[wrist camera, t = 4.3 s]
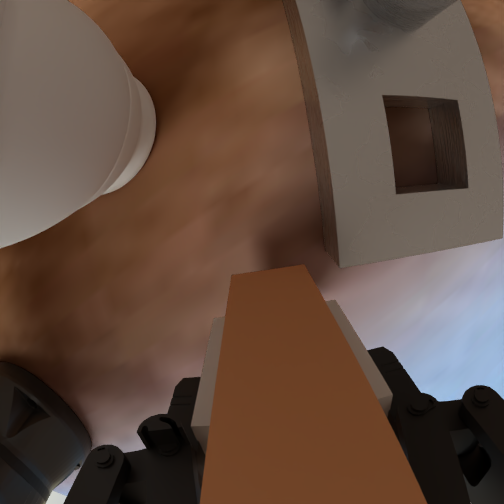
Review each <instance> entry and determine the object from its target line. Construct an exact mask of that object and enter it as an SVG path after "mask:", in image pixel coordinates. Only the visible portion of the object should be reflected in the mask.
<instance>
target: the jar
mask: <svg viewBox="0 0 504 504" xmlns="http://www.w3.org/2000/svg"><path fill="white" fill-rule="evenodd" d="M155 131H156V114H155V109H154V105H153V101H152V99H151V97H150V94H149V93H148V91H147V89H146V88H145V87H144V85H143V84H142V83H141V82H140V81H139V80H138V79H136V78H135V77H133V75H132V73H131V71H130V69H129V68H128V66H127V64H126V63H125V62H124V60H123V59H122V58H121V56H120V55H119V54H118V53H117V51H116V49H115V48H114V46H113V44H112V43H111V41H110V40H109V39H108V37H107V36H106V34H105V33H104V32H103V31H102V30H101V28H100V27H99V26H98V25H97V24H96V23H95V22H94V21H93V20H92V19H91V18H90V17H89V16H88V15H87V14H85V13H84V12H83V11H82V10H81V9H79V8H78V7H77V6H75V5H74V4H72V3H71V2H69V1H68V0H0V248H2V247H6V246H9V245H12V244H15V243H17V242H20V241H23V240H25V239H28V238H30V237H32V236H34V235H36V234H39V233H41V232H43V231H44V230H46V229H48V228H50V227H52V226H54V225H55V224H57V223H59V222H60V221H62V220H63V219H65V218H66V217H68V216H69V215H71V214H72V213H74V212H75V211H76V210H78V209H80V208H82V207H84V206H85V205H87V204H89V203H90V202H92V201H93V200H95V199H96V198H98V197H99V196H100V195H102V194H107V193H110V192H113V191H115V190H117V189H119V188H121V187H122V186H124V185H125V184H126V183H128V182H129V181H130V180H131V179H132V178H133V177H134V176H135V175H136V174H137V173H138V172H139V170H140V169H141V168H142V166H143V165H144V163H145V161H146V160H147V158H148V156H149V153H150V151H151V148H152V145H153V142H154V137H155Z"/></svg>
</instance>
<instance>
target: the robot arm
mask: <svg viewBox="0 0 504 504" xmlns="http://www.w3.org/2000/svg"><path fill="white" fill-rule="evenodd" d="M325 302H326V304H327V305H328V307H329V309H330V311H331V313H332V314H333V316H334V318H335V320H336V322H337V323H338V325H339V327H340V329H341V331H342V333H343V334H344V336H345V338H346V340H347V342H348V344H349V346H350V347H351V349H352V351H353V353H354V355H355V357H356V359H357V361H358V362H359V364H360V366H361V368H362V370H363V372H364V374H365V376H366V378H367V380H368V382H369V383H370V385H371V387H372V389H373V391H374V393H375V395H376V397H377V399H378V401H379V403H380V405H381V407H382V409H383V411H384V413H385V415H386V417H387V419H388V421H389V423H390V425H391V427H392V429H393V431H394V433H395V435H396V437H397V439H398V441H399V443H400V446H401V448H402V450H403V452H404V454H405V456H406V458H407V460H408V462H409V465H410V467H411V469H412V471H413V473H414V475H415V477H416V480H417V482H418V484H419V486H420V488H421V491H422V493H423V495H424V497H425V500H426V502H427V504H504V400H503V399H502V398H501V396H500V395H499V394H498V393H497V392H496V391H494V390H493V389H492V388H490V387H487V386H484V385H476V386H473V387H470V388H469V389H468V390H466V391H465V393H464V395H463V397H462V399H460V400H453V401H443V402H439V401H437V400H436V398H434V397H433V396H431V395H429V394H425V393H421V392H420V391H419V389H418V388H417V386H416V385H415V383H414V382H413V381H412V379H411V378H410V376H409V375H408V373H407V372H406V370H405V369H403V366H402V365H401V363H400V362H399V361H398V359H397V358H396V356H395V355H394V354H393V352H391V351H389V350H388V349H386V348H384V347H379V348H375V349H371V350H366V348H365V347H364V345H363V343H362V342H361V340H360V338H359V337H358V335H357V334H356V332H355V330H354V329H353V327H352V325H351V324H350V322H349V321H348V319H347V317H346V316H345V314H344V313H343V311H342V310H341V308H340V306H339V305H338V303H337V302H336V300H331V301H325ZM224 322H225V317H219V318H214V319H213V324H212V328H211V333H210V337H209V342H208V346H207V351H206V356H205V360H204V365H203V369H202V374H201V377H194V378H183V379H182V380H181V381H180V382H179V384H178V385H177V386H176V387H175V390H174V394H173V398H172V400H171V403H170V405H171V406H170V407H169V410H168V413H167V414H158V415H155V416H151V417H149V418H148V419H146V420H144V421H143V422H142V423H141V424H140V426H139V428H138V430H137V433H138V435H139V437H140V438H141V440H142V442H143V443H144V445H145V447H146V449H143V450H139V451H133V452H128V453H123V452H122V451H121V450H120V449H119V448H118V447H117V446H114V445H102V446H98V447H96V448H95V449H93V450H92V451H91V441H90V438H89V435H88V433H87V431H86V429H85V428H84V426H83V425H82V423H81V422H80V420H79V419H78V418H77V416H76V415H75V414H74V413H73V411H72V410H71V409H70V408H69V407H68V406H67V405H66V404H65V403H64V401H63V400H62V399H61V398H60V397H59V396H57V395H56V394H55V393H54V392H53V391H52V390H51V389H50V388H49V387H48V386H46V385H45V384H44V383H43V382H41V381H40V380H39V379H37V378H36V377H35V376H33V375H32V374H30V373H29V372H27V371H26V370H24V369H22V368H20V367H18V366H16V365H14V364H11V363H7V362H0V504H45V503H46V501H47V500H48V498H49V496H50V493H51V492H52V490H53V489H54V488H55V487H57V486H58V485H59V484H60V483H62V482H63V481H64V480H65V479H66V478H67V477H68V476H69V475H70V474H71V473H72V472H73V471H74V470H77V469H79V468H80V467H81V466H82V467H81V469H80V471H79V473H78V475H77V477H76V479H75V481H74V483H73V485H72V487H71V489H70V491H69V493H68V495H67V497H66V500H65V502H64V504H200V497H201V489H202V481H203V473H204V465H205V457H206V450H207V442H208V434H209V427H210V420H211V412H212V405H213V398H214V391H215V383H216V376H217V369H218V363H219V356H220V349H221V342H222V335H223V329H224ZM90 451H91V452H90ZM470 502H471V503H470Z"/></svg>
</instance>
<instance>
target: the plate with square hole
mask: <svg viewBox="0 0 504 504" xmlns="http://www.w3.org/2000/svg"><path fill="white" fill-rule="evenodd" d="M282 1H283V4H284V8H285V12H286V16H287V20H288V24H289V28H290V32H291V37H292V41H293V45H294V50H295V54H296V59H297V64H298V68H299V73H300V78H301V83H302V88H303V94H304V99H305V105H306V110H307V116H308V122H309V128H310V134H311V140H312V146H313V153H314V160H315V167H316V174H317V182H318V190H319V198H320V206H321V215H322V224H323V234H324V245H325V251H326V252H327V253H328V255H329V256H330V257H331V258H332V259H333V261H334V262H335V263H336V264H337V265H338V267H339V268H344V267H350V266H356V265H363V264H368V263H374V262H380V261H386V260H392V259H397V258H403V257H409V256H414V255H420V254H425V253H431V252H436V251H441V250H446V249H452V248H457V247H462V246H467V245H472V244H477V243H482V242H487V241H492V240H496V239H501V238H503V177H502V162H501V152H500V143H499V135H498V128H497V121H496V116H495V110H494V105H493V100H492V95H491V91H490V86H489V82H488V78H487V74H486V70H485V67H484V63H483V60H482V57H481V53H480V50H479V47H478V44H477V41H476V38H475V35H474V32H473V30H472V27H471V24H470V22H469V19H468V17H467V14H466V12H465V9H464V7H463V5H462V3H461V0H282ZM384 107H413V108H428V110H429V115H430V121H431V127H432V134H433V141H434V148H435V157H436V167H437V178H438V184H429V185H416V186H404V187H395V178H394V169H393V160H392V152H391V145H390V138H389V131H388V125H387V119H386V113H385V108H384Z"/></svg>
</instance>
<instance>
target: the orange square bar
mask: <svg viewBox="0 0 504 504" xmlns="http://www.w3.org/2000/svg"><path fill="white" fill-rule="evenodd" d="M200 504H427V502H426V500H425V497H424V495H423V493H422V491H421V488H420V486H419V484H418V482H417V480H416V477H415V475H414V473H413V471H412V469H411V467H410V465H409V462H408V460H407V458H406V456H405V454H404V452H403V450H402V448H401V446H400V443H399V441H398V439H397V437H396V435H395V433H394V431H393V429H392V427H391V425H390V423H389V421H388V419H387V417H386V415H385V413H384V411H383V409H382V407H381V405H380V403H379V401H378V399H377V397H376V395H375V393H374V391H373V389H372V387H371V385H370V383H369V382H368V380H367V378H366V376H365V374H364V372H363V370H362V368H361V366H360V364H359V362H358V361H357V359H356V357H355V355H354V353H353V351H352V349H351V347H350V346H349V344H348V342H347V340H346V338H345V336H344V334H343V333H342V331H341V329H340V327H339V325H338V323H337V322H336V320H335V318H334V316H333V314H332V313H331V311H330V309H329V307H328V305H327V304H326V302H325V300H324V298H323V297H322V295H321V293H320V291H319V289H318V288H317V286H316V284H315V282H314V281H313V279H312V277H311V275H310V274H309V272H308V270H307V268H306V267H305V265H304V264H302V265H296V266H289V267H283V268H276V269H270V270H263V271H256V272H250V273H243V274H236V275H232V277H231V283H230V289H229V296H228V302H227V309H226V315H225V322H224V329H223V335H222V342H221V349H220V356H219V363H218V369H217V376H216V383H215V391H214V398H213V405H212V412H211V420H210V427H209V434H208V442H207V450H206V457H205V465H204V473H203V481H202V489H201V497H200Z"/></svg>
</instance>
